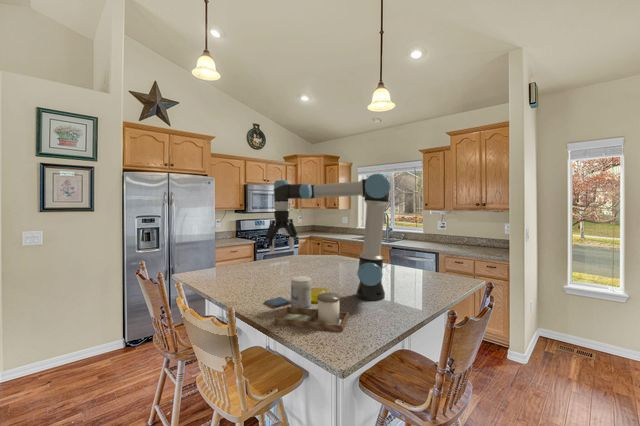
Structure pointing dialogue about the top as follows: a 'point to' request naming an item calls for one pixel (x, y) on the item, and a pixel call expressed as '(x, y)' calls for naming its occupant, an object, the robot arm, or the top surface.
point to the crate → (309, 319)
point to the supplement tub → (301, 292)
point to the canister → (328, 308)
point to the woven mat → (277, 302)
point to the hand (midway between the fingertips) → (282, 250)
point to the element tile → (316, 294)
